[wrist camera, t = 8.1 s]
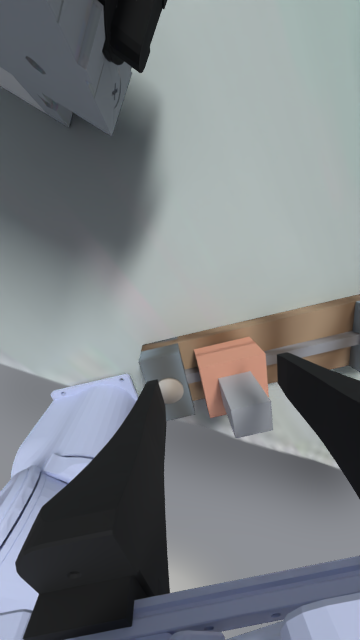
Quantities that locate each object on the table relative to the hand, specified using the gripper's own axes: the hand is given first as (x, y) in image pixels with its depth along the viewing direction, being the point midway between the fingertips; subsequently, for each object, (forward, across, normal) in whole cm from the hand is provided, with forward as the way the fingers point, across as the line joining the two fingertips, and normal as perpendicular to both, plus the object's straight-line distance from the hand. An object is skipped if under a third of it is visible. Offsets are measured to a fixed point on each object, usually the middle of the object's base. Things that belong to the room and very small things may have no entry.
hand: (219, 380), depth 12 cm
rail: (+10, -7, +5) cm, 14 cm away
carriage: (+9, -2, +5) cm, 10 cm away
